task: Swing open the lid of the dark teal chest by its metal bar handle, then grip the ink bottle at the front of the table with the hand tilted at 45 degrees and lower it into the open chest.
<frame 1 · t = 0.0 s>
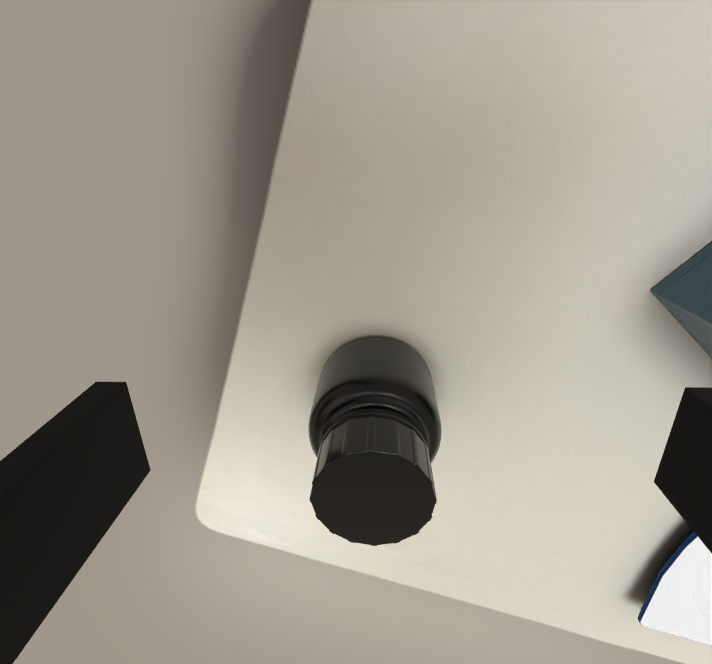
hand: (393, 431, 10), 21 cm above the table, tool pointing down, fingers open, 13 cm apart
ink bottle: (375, 384, 34), on the table
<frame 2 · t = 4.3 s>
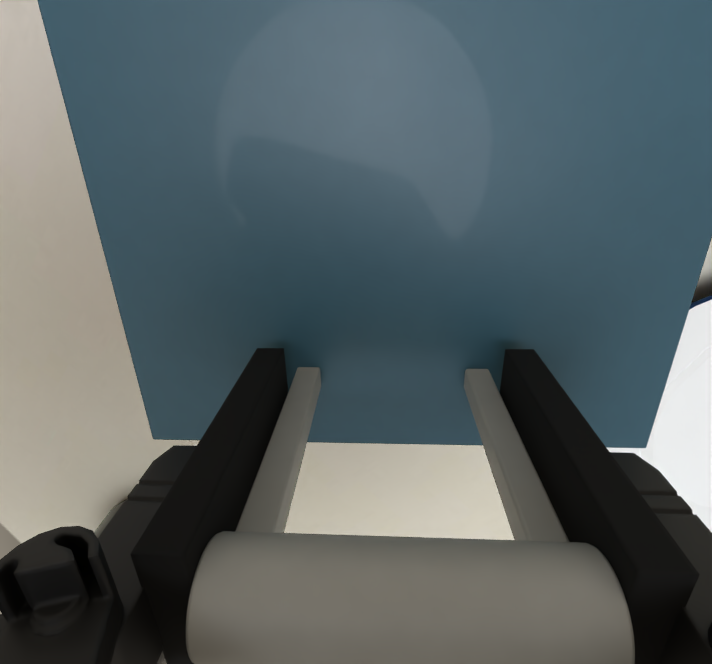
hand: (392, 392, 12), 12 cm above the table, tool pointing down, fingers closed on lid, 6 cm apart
lid: (400, 106, 7), point 14 cm above the table, hinge at 0.0°, touching gripper
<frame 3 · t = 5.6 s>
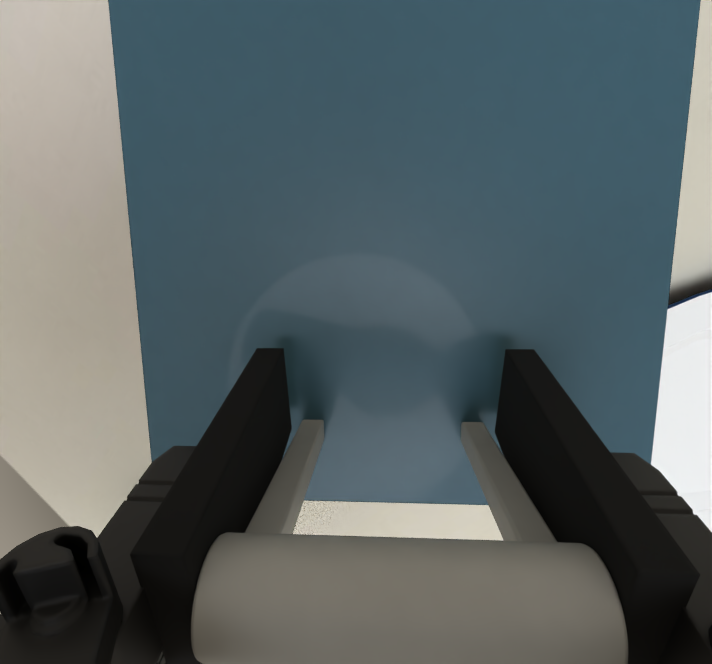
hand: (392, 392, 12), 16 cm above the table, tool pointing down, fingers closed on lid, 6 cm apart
lid: (395, 179, 9), point 17 cm above the table, hinge at 14.6°, touching gripper
plate: (701, 411, 30), on the table
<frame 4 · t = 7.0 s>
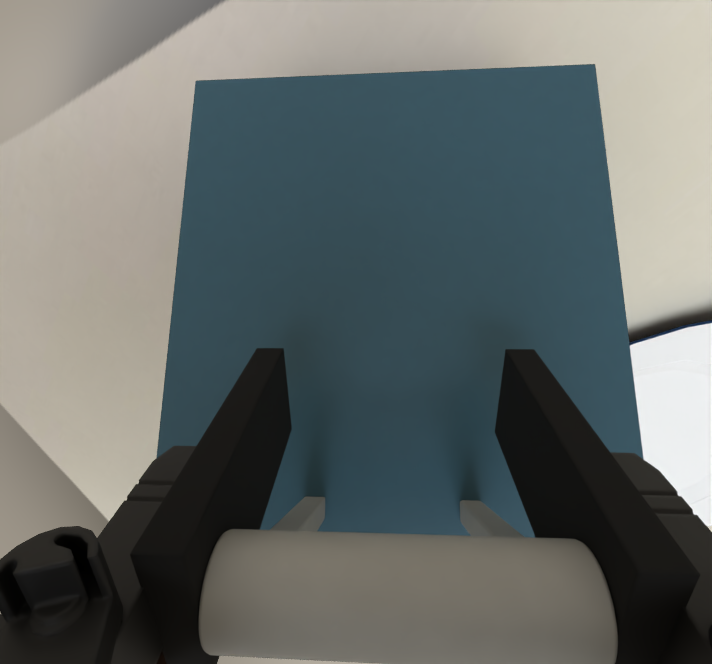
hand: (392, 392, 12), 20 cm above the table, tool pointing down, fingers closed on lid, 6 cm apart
lid: (392, 265, 12), point 19 cm above the table, hinge at 35.9°, touching gripper
plate: (647, 431, 36), on the table
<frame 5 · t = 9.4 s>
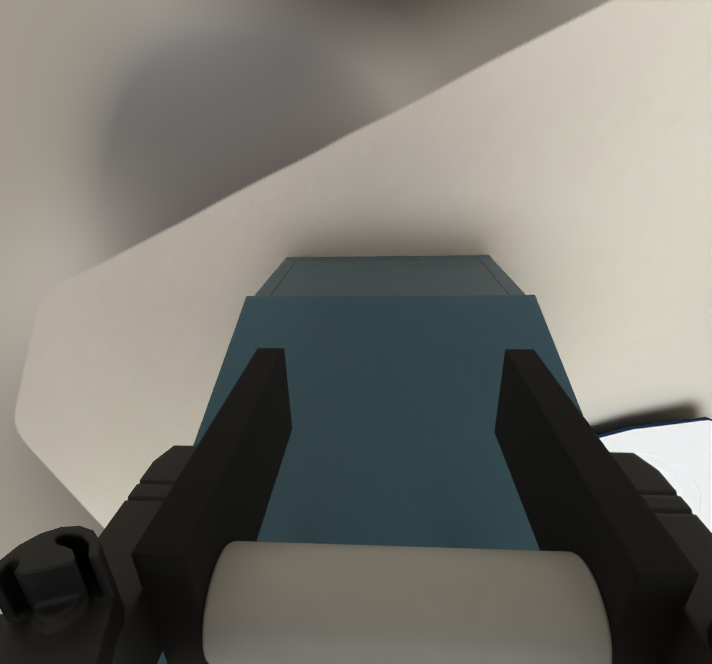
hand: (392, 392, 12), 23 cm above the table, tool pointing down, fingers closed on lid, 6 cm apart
lid: (390, 395, 15), point 21 cm above the table, hinge at 69.6°, touching gripper
plate: (605, 502, 43), on the table
chest: (385, 357, 37), on the table
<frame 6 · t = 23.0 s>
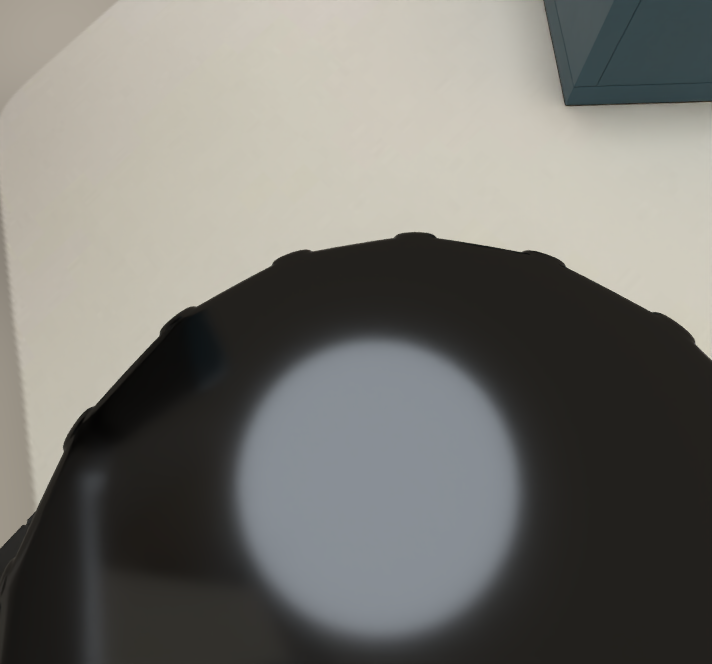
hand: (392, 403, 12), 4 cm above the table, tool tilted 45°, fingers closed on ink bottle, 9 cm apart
ink bottle: (390, 523, 15), on the table, touching gripper
when the fingers open (12 cm above the table, at t = 34.0 s): ink bottle drops 8 cm, resting on chest.
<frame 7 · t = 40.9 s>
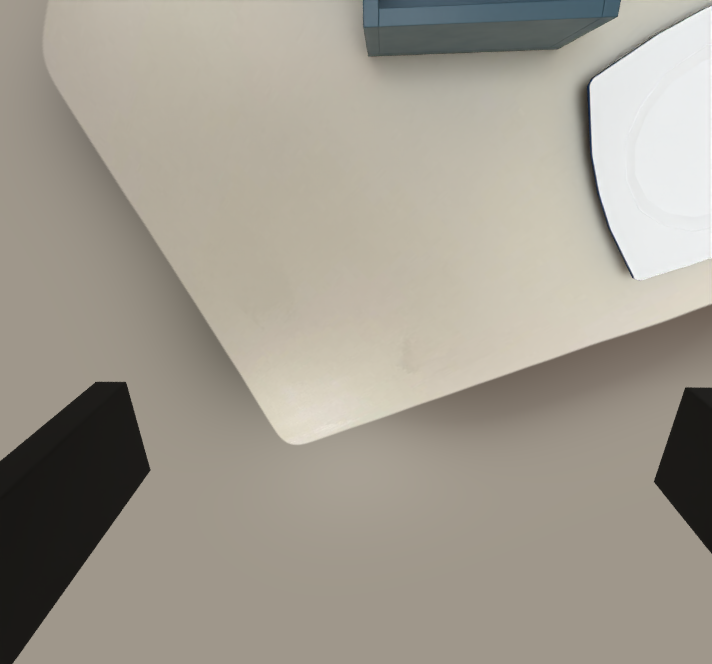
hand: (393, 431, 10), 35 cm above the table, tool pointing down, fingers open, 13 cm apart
plate: (705, 140, 38), on the table
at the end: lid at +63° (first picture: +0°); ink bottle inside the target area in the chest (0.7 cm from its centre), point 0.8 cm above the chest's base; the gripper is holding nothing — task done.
